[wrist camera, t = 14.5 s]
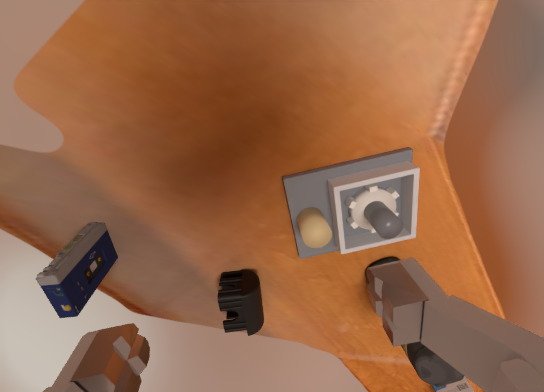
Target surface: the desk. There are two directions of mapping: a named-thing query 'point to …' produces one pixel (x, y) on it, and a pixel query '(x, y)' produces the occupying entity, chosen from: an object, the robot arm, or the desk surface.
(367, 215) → the gear
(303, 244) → the carrier board
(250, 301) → the end cap
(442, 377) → the coffee jar
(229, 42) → the desk surface
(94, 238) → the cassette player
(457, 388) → the ink box
